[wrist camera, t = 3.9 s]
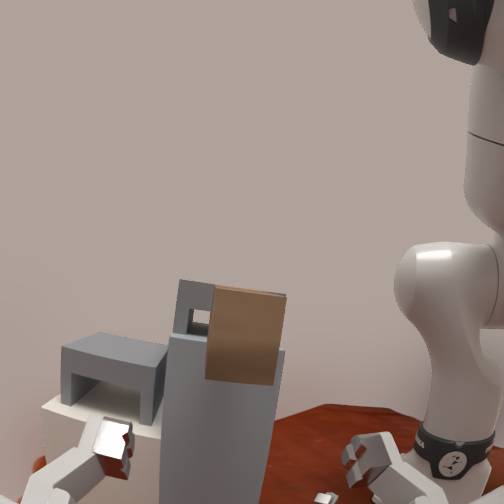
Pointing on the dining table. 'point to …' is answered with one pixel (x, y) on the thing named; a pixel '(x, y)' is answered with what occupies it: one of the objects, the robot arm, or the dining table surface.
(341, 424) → the dining table surface
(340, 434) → the dining table surface
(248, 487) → the stand
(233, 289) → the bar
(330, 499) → the lighter
